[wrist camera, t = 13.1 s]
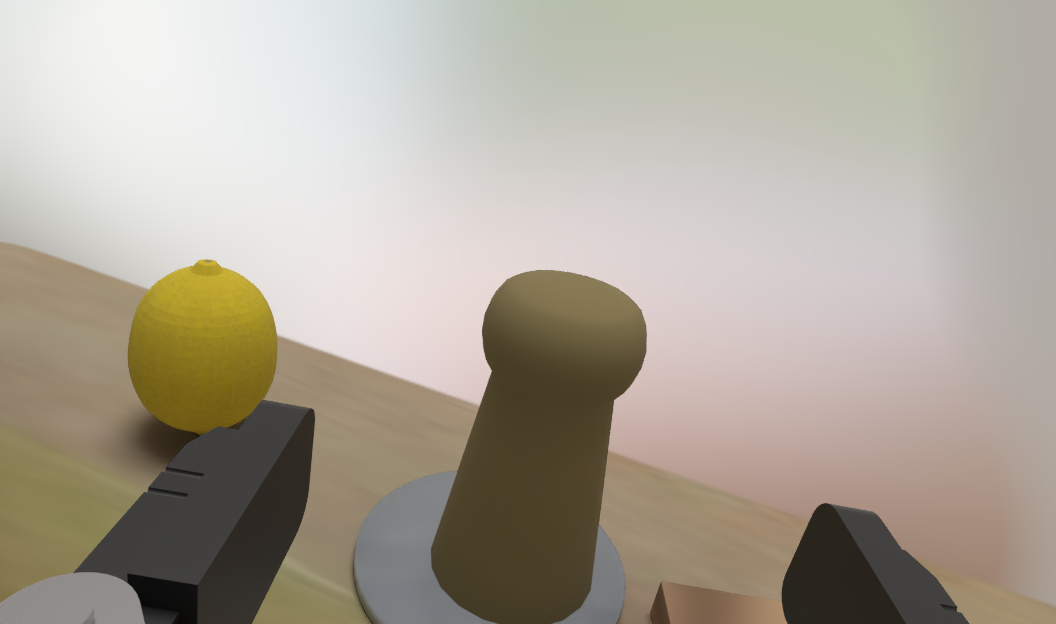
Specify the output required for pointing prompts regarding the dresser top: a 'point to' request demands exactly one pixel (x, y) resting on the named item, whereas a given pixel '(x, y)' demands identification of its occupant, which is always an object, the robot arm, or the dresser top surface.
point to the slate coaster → (406, 572)
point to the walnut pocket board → (712, 607)
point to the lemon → (202, 348)
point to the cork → (538, 448)
